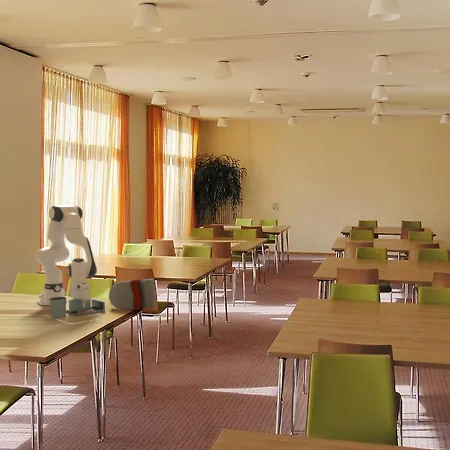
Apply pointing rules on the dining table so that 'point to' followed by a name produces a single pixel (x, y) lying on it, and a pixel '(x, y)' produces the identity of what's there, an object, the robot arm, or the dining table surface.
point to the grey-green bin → (58, 307)
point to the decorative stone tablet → (133, 294)
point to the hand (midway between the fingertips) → (79, 306)
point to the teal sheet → (78, 305)
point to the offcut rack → (96, 305)
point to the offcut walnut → (84, 311)
